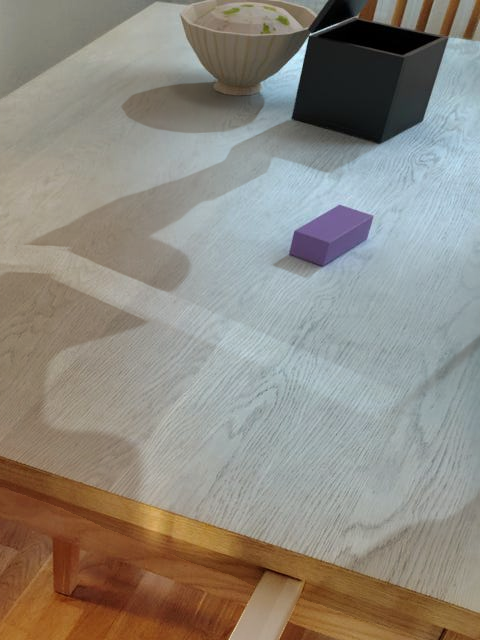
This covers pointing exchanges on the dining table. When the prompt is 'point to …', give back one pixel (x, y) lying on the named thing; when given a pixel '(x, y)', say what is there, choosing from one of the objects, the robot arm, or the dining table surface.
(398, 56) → the bin
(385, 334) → the dining table surface
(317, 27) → the bin lid
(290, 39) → the bowl
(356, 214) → the purple rectangular block
